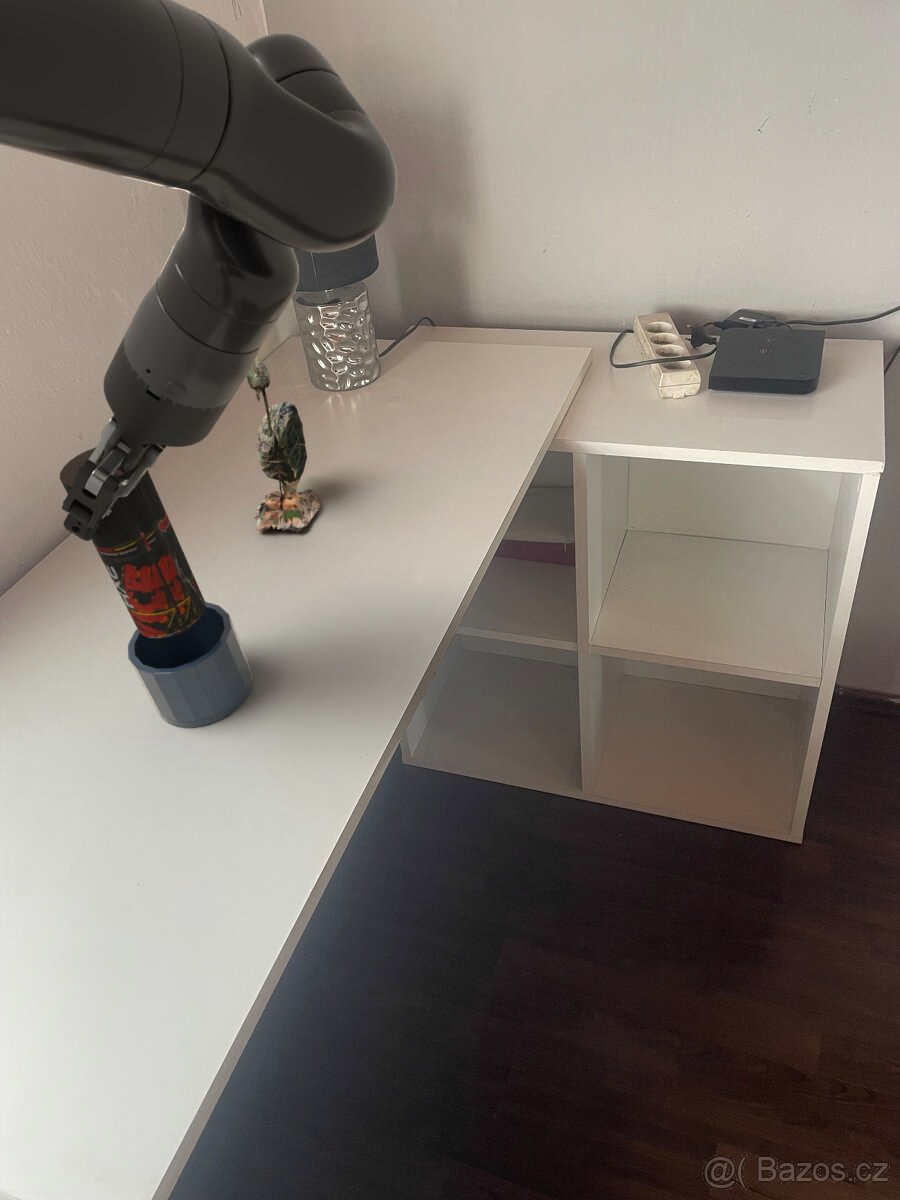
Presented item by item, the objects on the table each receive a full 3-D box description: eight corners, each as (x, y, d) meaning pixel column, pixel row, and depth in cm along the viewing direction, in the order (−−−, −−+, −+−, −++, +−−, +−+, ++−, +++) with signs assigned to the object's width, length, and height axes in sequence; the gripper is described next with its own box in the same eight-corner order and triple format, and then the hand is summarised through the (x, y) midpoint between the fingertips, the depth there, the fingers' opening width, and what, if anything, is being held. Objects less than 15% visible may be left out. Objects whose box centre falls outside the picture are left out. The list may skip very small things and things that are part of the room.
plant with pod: (342, 483, 103) (301, 323, 90) (302, 541, 95) (250, 375, 82) (282, 479, 106) (233, 322, 93) (238, 535, 98) (178, 373, 85)
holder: (212, 739, 75) (185, 684, 71) (136, 712, 79) (106, 658, 74) (272, 668, 81) (250, 613, 76) (198, 646, 85) (174, 592, 80)
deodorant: (122, 632, 73) (42, 483, 63) (163, 587, 77) (94, 440, 67) (179, 643, 70) (105, 491, 61) (218, 596, 74) (155, 446, 65)
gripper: (183, 276, 60) (103, 427, 71) (72, 375, 50) (-1, 535, 60) (274, 345, 62) (183, 482, 73) (185, 455, 52) (95, 595, 63)
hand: (100, 505), depth 67 cm, fingers closed on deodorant, 6 cm apart
